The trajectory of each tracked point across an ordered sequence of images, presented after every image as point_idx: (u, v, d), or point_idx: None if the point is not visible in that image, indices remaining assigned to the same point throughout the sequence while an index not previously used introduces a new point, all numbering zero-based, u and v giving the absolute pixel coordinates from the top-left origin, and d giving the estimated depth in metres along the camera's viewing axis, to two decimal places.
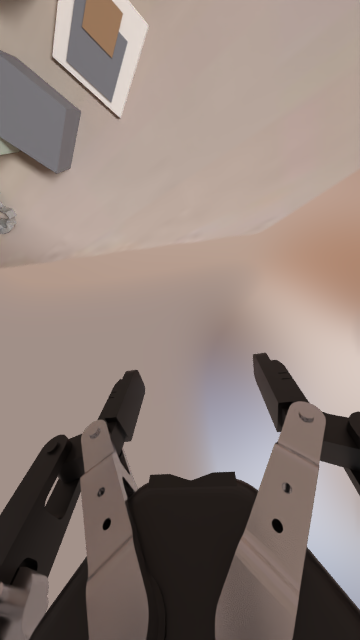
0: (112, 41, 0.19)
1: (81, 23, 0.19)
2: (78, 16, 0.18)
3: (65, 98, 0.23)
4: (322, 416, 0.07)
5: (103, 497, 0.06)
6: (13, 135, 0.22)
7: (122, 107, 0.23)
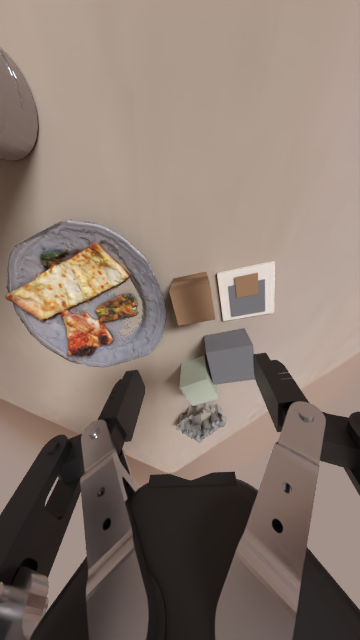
0: (256, 287, 0.26)
1: (235, 296, 0.27)
2: (232, 295, 0.27)
3: (233, 330, 0.31)
4: (322, 416, 0.07)
5: (103, 497, 0.06)
6: (225, 378, 0.29)
7: (273, 306, 0.28)
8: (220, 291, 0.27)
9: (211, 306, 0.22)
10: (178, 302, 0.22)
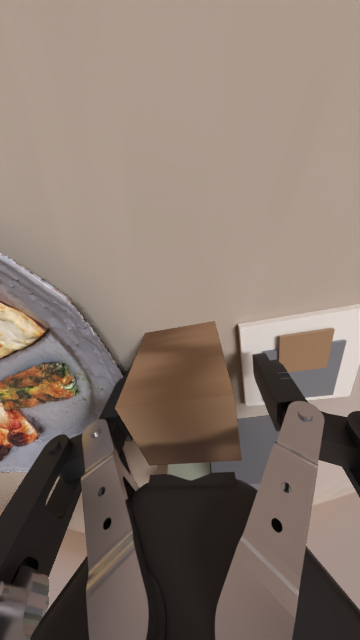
0: (324, 356, 0.12)
1: None
2: None
3: (261, 416, 0.17)
4: (321, 416, 0.07)
5: (104, 497, 0.06)
6: None
7: (350, 386, 0.14)
8: (244, 359, 0.13)
9: (234, 439, 0.08)
10: (144, 430, 0.08)
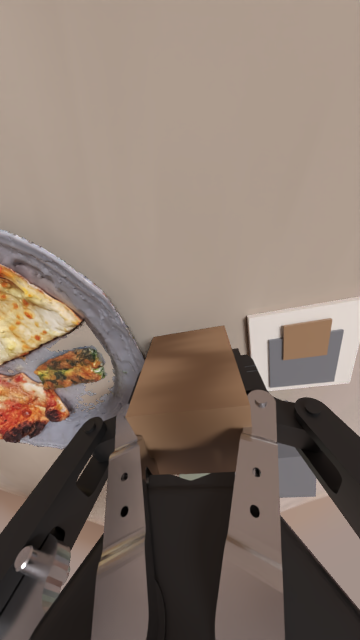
0: (324, 344, 0.14)
1: (281, 358, 0.14)
2: (276, 356, 0.15)
3: None
4: (273, 401, 0.08)
5: (125, 483, 0.06)
6: None
7: (349, 374, 0.15)
8: (252, 347, 0.15)
9: None
10: (154, 439, 0.08)
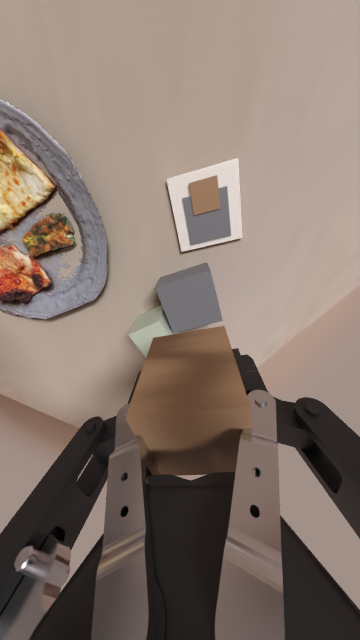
0: (216, 198, 0.21)
1: (192, 214, 0.21)
2: (189, 212, 0.21)
3: None
4: (273, 402, 0.08)
5: (125, 483, 0.06)
6: (185, 323, 0.24)
7: (240, 229, 0.22)
8: (173, 206, 0.21)
9: None
10: (154, 440, 0.08)
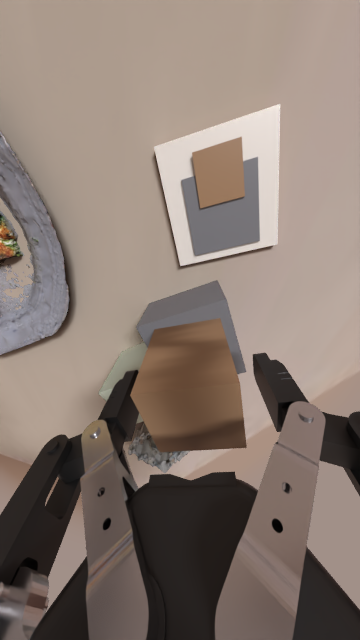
0: (239, 179, 0.12)
1: (198, 206, 0.13)
2: (192, 204, 0.13)
3: None
4: (322, 416, 0.07)
5: (103, 497, 0.06)
6: None
7: (276, 230, 0.14)
8: (166, 195, 0.13)
9: (239, 426, 0.09)
10: (156, 417, 0.09)
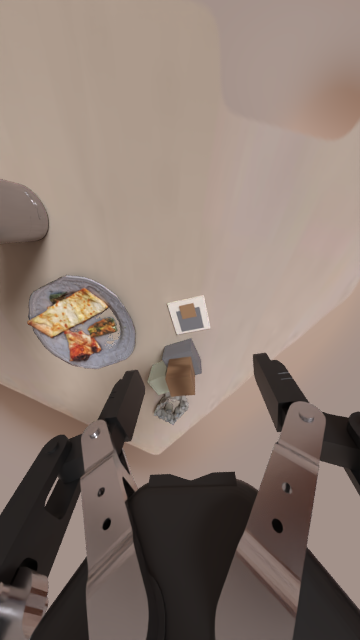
0: (194, 312, 0.38)
1: (181, 318, 0.39)
2: (180, 317, 0.39)
3: None
4: (322, 416, 0.07)
5: (103, 497, 0.06)
6: None
7: (209, 324, 0.40)
8: (171, 315, 0.39)
9: (192, 388, 0.35)
10: (171, 385, 0.35)
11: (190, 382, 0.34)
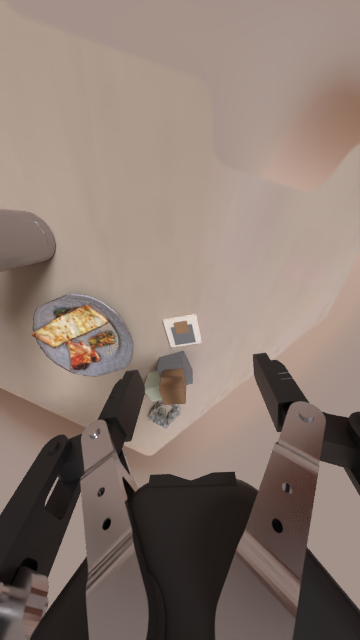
0: (187, 328, 0.42)
1: (175, 333, 0.43)
2: (174, 333, 0.43)
3: (177, 352, 0.47)
4: (322, 416, 0.07)
5: (103, 497, 0.06)
6: None
7: (200, 339, 0.44)
8: (166, 330, 0.43)
9: (183, 397, 0.39)
10: (164, 395, 0.39)
11: (181, 393, 0.38)
